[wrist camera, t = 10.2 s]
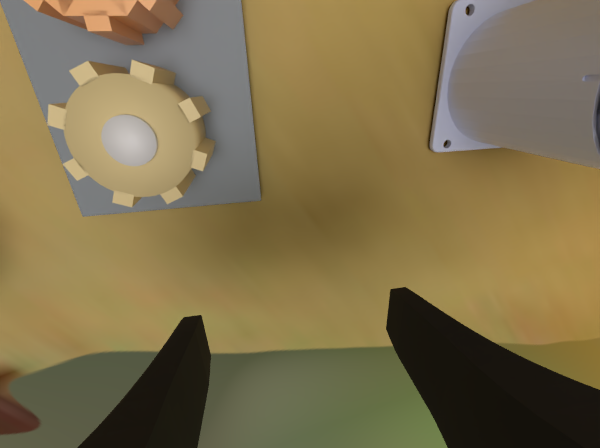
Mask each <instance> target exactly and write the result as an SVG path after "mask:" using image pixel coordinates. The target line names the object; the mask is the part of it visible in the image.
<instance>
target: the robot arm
mask: <svg viewBox="0 0 600 448" xmlns="http://www.w3.org/2000/svg"><path fill="white" fill-rule="evenodd" d="M467 6H468V7H469V9H470V12H469V15H466V11H465V10H466V7H467ZM446 140H447V145H446V146H445V147H444V146H443V144H444V142H445V141H446ZM503 147H504V148H508V149H513V150H517V151H522V152H526V153H530V154H535V155H539V156H544V157H548V158H553V159H557V160H562V161H566V162H570V163H575V164H579V165H584V166H588V167H593V168H597V169H600V0H457V1H455V2H454V3H453V4H452V5H451V7H450V9H449V13H448V20H447V27H446V34H445V41H444V48H443V55H442V62H441V69H440V75H439V82H438V89H437V96H436V103H435V110H434V117H433V124H432V131H431V138H430V149H431V150H432V151H434V152H450V151H463V150H477V149H490V148H503ZM386 330H387V332H388V335H389V337H390V339H391V342H392V344H393V346H394V349H395V351H396V353H397V355H398V357H399V359H400V360H401V362H402V364H403V366H404V367H405V369H406V371H407V373H408V374H409V376H410V378H411V379H412V381H413V383H414V385H415V386H416V388H417V390H418V391H419V393H420V395H421V397H422V398H423V400H424V402H425V404H426V405H427V407H428V409H429V410H430V412H431V414H432V416H433V418H434V420H435V422H436V423H437V426H438V428H439V430H440V432H441V434H442V436H443V438H444V441H445V442H446V445H447V447H448V448H600V390H598V389H596V388H593V387H591V386H588V385H585V384H583V383H580V382H578V381H575V380H573V379H570V378H568V377H565V376H563V375H561V374H558V373H556V372H554V371H551V370H549V369H547V368H545V367H542V366H540V365H538V364H536V363H533V362H531V361H529V360H527V359H525V358H523V357H521V356H519V355H517V354H515V353H513V352H511V351H509V350H507V349H505V348H503V347H501V346H499V345H497V344H496V343H494V342H492V341H490V340H488V339H487V338H485V337H483V336H481V335H480V334H478V333H476V332H474V331H473V330H471V329H469V328H468V327H466V326H464V325H463V324H461V323H460V322H458V321H456V320H455V319H453V318H452V317H450V316H449V315H447V314H445V313H444V312H442V311H441V310H439V309H438V308H436V307H435V306H433V305H432V304H430V303H429V302H427V301H426V300H424V299H423V298H421V297H420V296H418V295H417V294H415V293H414V292H412V291H411V290H409V289H408V288H406V287H403V288H396V289H391V290H390V299H389V308H388V317H387V326H386ZM210 360H211V354H210V350H209V346H208V341H207V337H206V333H205V329H204V324H203V320H202V316H201V315H198V316H190V317H184V318H183V319H182V320H181V321H180V323H179V324H178V326H177V327H176V329H175V330H174V332H173V333H172V335H171V336H170V338H169V339H168V340H167V342H166V343H165V345H164V346H163V348H162V349H161V350H160V352H159V353H158V354H157V356H156V357H155V359H154V360H153V361H152V363H151V364H150V365H149V367H148V368H147V369H146V371H145V372H144V373H143V374H142V376H141V377H140V378H139V379H138V381H137V382H136V383H135V384H134V386H133V387H132V388H131V390H130V391H129V392H128V393H127V394H126V396H125V397H124V398H123V399H122V400H121V401H120V403H119V404H118V405H117V406H116V407H115V408H114V410H113V411H112V412H111V413H110V414H109V415H108V416H107V417H106V418H105V420H104V421H103V422H102V423H101V424H100V425H99V426H98V427H97V428H96V429H95V430H94V431H93V432H92V433H91V434H90V436H89V437H87V438H86V440H85V441H83V443H82V444H81V445H80V446H79V447H78V448H197V446H198V441H199V435H200V430H201V425H202V419H203V414H204V409H205V403H206V397H207V392H208V386H209V376H210Z"/></svg>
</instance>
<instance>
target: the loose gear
mask: <svg viewBox="0 0 600 448" xmlns="http://www.w3.org/2000/svg"><path fill="white" fill-rule="evenodd" d="M24 1H25V2H26V3H28V4H29V5H30V6H31V7H33V8H34V9H35V10H36V11H38V12H41V13H43V14H46V15H49V16H51V17H54V18H57V19H59V20H62V21H65V22H67V23H70V24H73V25H75V26H78V27H81V28H83V29H86V30H88V31H89V32H92V33H94V34H97V35H100V36H102V37H105V38H108V39H111V40H113V41H116V42H119V43H121V44H124V45H144V41H143V36H142V34H151V33H157V32H158V30H159V29H160V27H161V26H162V25H163V23H165V24H166V25H168V26H169V27H170V28H171V29H174V28H175V26H176V25H177V24H178V22H179V21H180V19H181V18H182V16H183V14H182V13H181V12H180V11H179V10H178V9H177V7H176V6H175V5H176V4H177V2H178V1H179V0H24Z"/></svg>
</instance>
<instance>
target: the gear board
mask: <svg viewBox="0 0 600 448" xmlns="http://www.w3.org/2000/svg"><path fill="white" fill-rule="evenodd" d="M0 2H1V5H2V8H3V10H4V13H5V15H6V18H7V21H8V23H9V26H10V28H11V31H12V34H13V36H14V39H15V42H16V44H17V47H18V49H19V52H20V55H21V57H22V60H23V62H24V65H25V68H26V70H27V73H28V75H29V78H30V81H31V83H32V86H33V88H34V91H35V94H36V96H37V99H38V101H39V104H40V107H41V109H42V112H43V114H44V117H45V120H46V122H47V125H48V127H49V130H50V133H51V135H52V138H53V140H54V143H55V146H56V148H57V151H58V154H59V156H60V159H61V161H62V164H63V167H64V169H65V172H66V174H67V177H68V180H69V182H70V185H71V187H72V190H73V193H74V195H75V198H76V200H77V203H78V206H79V208H80V211H81V213H82V216H83V217H84V216H95V215H106V214H117V213H128V212H139V211H150V210H161V209H172V208H183V207H194V206H205V205H216V204H228V203H239V202H250V201H261V193H260V183H259V174H258V164H257V154H256V144H255V134H254V124H253V114H252V104H251V94H250V84H249V74H248V64H247V54H246V44H245V35H244V25H243V15H242V5H241V0H179V1H178V2H177V4H176V5H175V6H176V7H177V9H178V10H179V11H180V12H181V13H182V14H183V16H182V18H181V19H180V21H179V22H178V24H177V25H176V26H175V28H174V29H171V28H170V27H169V26H168V25H166V24H165V23H163V25H162V26H161V27H160V29H159V30H158V32H157V33H151V34H142V36H143V41H144V45H124V44H121V43H119V42H116V41H113V40H111V39H108V38H105V37H102V36H100V35H97V34H94V33H92V32H89V31H88V30H86V29H83V28H81V27H78V26H75V25H73V24H70V23H67V22H65V21H62V20H59V19H57V18H54V17H51V16H49V15H46V14H43V13H41V12H38V11H36V10H35V9H34V8H33V7H31V6H30V5H29V4H28V3H26V2H25V1H24V0H0Z"/></svg>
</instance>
